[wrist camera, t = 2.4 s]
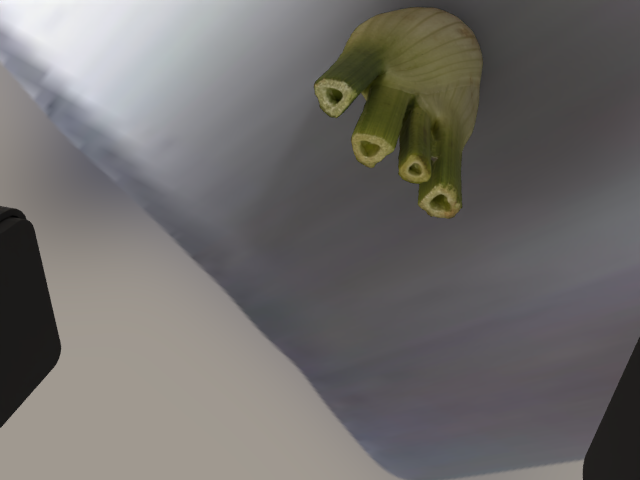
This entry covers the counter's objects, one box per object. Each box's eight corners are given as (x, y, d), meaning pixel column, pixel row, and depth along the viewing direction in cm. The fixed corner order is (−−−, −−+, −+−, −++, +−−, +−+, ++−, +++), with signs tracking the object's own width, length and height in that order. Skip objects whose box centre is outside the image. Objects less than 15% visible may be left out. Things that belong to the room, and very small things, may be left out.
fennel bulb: (357, 12, 27) (284, 89, 17) (464, -28, 25) (455, 32, 15) (395, 128, 29) (352, 256, 19) (495, 99, 27) (505, 225, 17)
